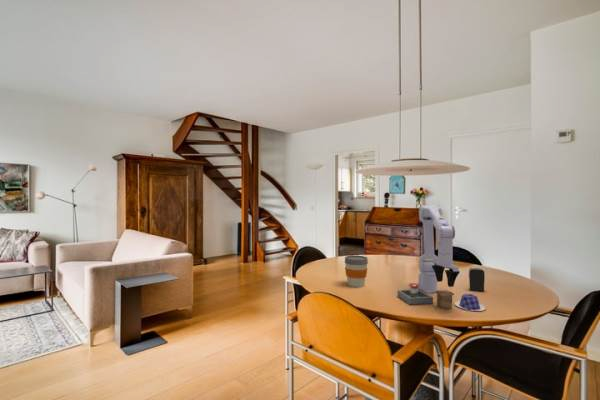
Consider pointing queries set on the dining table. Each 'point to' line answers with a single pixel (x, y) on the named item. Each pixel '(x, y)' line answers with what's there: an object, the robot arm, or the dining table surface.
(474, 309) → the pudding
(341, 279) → the dining table surface
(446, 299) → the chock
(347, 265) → the reusable coffee cup
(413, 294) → the small red-capped bottle
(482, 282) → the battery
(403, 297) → the tray
